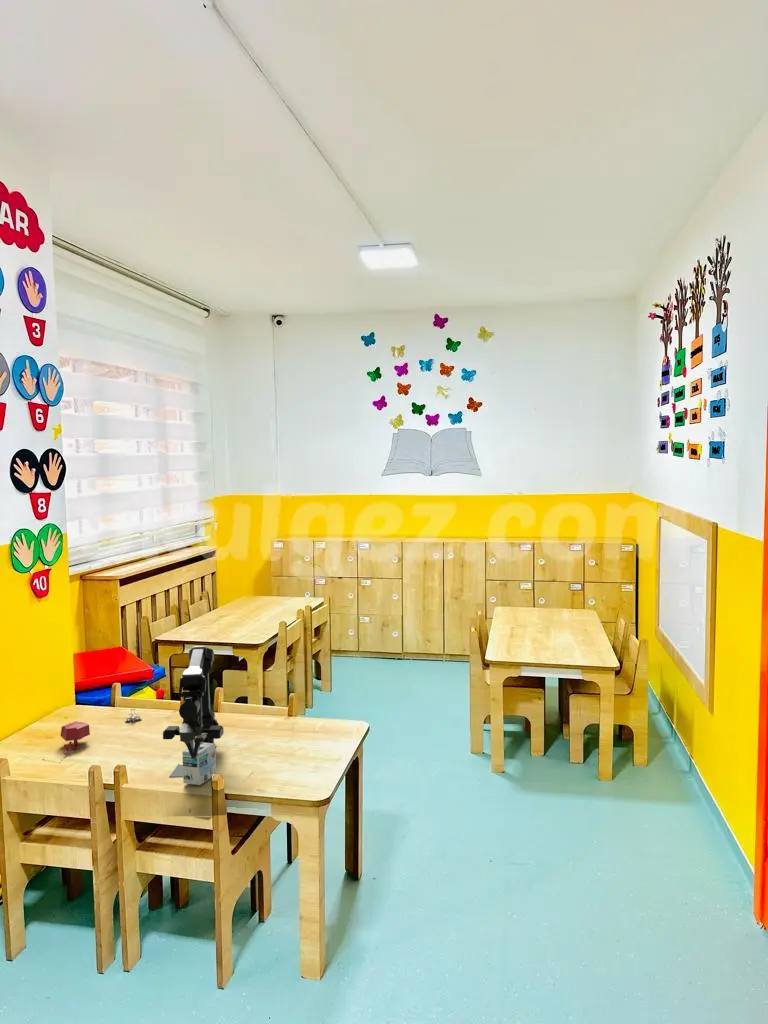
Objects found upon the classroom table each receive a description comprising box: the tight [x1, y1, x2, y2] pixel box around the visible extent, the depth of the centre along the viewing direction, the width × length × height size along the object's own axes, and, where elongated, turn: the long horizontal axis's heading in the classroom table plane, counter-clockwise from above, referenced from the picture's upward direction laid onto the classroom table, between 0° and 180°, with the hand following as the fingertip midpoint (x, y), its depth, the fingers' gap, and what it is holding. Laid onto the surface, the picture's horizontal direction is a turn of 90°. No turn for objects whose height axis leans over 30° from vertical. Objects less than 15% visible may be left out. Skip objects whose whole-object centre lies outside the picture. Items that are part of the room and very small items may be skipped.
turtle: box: [60, 720, 91, 755], centre depth 278 cm, size 15×20×9 cm
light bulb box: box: [182, 742, 217, 786], centre depth 249 cm, size 11×7×11 cm, turn 162°
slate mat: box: [169, 763, 183, 778], centre depth 258 cm, size 11×20×1 cm, turn 89°
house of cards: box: [124, 705, 143, 723], centre depth 310 cm, size 9×9×8 cm
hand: (193, 758), depth 243 cm, fingers closed
